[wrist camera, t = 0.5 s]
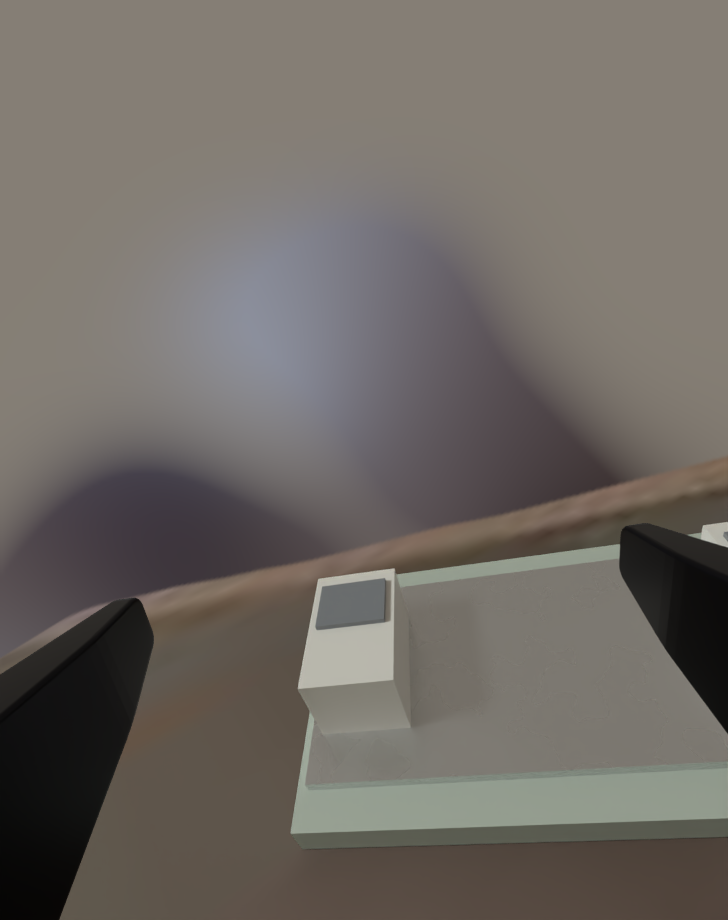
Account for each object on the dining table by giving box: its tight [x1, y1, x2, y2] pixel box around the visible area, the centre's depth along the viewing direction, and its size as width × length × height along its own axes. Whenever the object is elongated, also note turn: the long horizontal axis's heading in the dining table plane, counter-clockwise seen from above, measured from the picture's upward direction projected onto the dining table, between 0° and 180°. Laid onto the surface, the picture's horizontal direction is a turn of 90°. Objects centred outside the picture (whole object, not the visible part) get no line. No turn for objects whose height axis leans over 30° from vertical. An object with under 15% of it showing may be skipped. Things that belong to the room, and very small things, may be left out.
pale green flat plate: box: [305, 559, 728, 790], centre depth 22 cm, size 23×10×1 cm, turn 86°
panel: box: [290, 533, 728, 849], centre depth 22 cm, size 24×13×2 cm, turn 86°
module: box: [298, 568, 411, 734], centre depth 23 cm, size 4×6×4 cm, turn 176°
